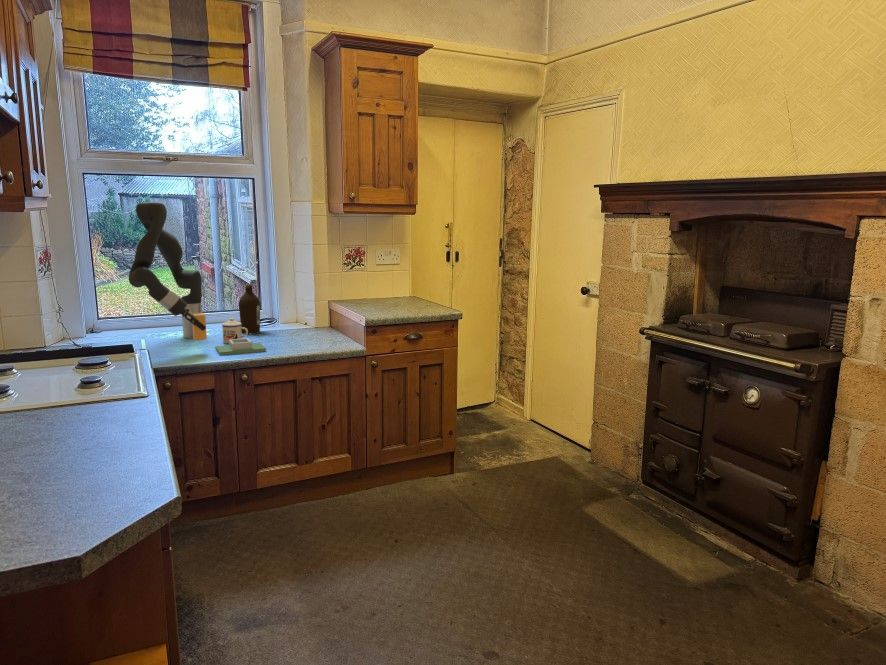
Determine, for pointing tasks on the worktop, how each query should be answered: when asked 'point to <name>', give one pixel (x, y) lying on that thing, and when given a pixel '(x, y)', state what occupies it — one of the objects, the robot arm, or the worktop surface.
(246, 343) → the deck plate
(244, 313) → the olive oil
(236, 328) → the teacup with lid
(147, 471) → the worktop surface
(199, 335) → the orange wooden block
